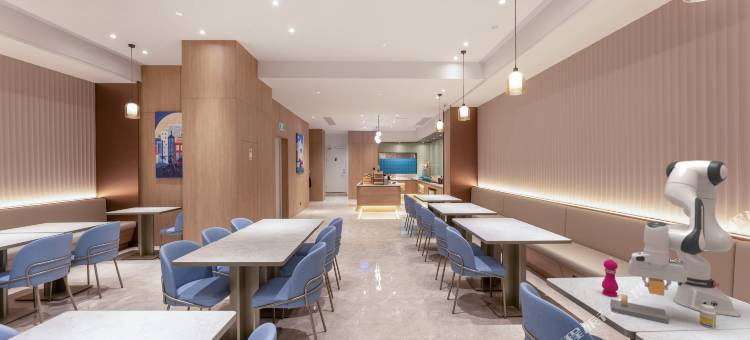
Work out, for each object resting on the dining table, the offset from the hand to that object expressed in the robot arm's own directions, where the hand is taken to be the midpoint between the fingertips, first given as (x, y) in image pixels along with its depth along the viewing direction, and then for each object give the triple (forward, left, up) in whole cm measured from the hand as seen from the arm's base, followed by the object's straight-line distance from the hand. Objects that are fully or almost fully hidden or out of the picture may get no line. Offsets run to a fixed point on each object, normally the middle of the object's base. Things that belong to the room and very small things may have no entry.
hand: (656, 288), depth 147 cm
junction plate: (+6, +1, -13) cm, 14 cm away
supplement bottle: (-17, -2, -13) cm, 22 cm away
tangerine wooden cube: (0, 0, -2) cm, 2 cm away
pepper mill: (+16, -18, -13) cm, 28 cm away
